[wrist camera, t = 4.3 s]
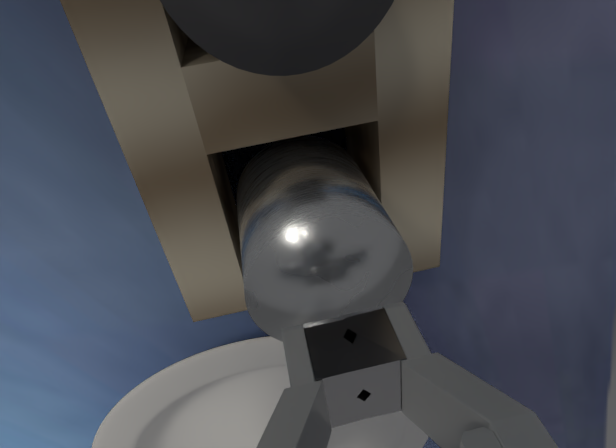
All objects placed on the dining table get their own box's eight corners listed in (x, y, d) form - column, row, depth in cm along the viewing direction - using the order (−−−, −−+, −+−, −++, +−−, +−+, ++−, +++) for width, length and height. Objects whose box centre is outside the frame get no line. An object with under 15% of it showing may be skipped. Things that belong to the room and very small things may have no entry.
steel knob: (222, 150, 14) (225, 238, 10) (357, 123, 15) (413, 197, 11) (251, 257, 17) (263, 361, 13) (365, 232, 17) (412, 326, 13)
